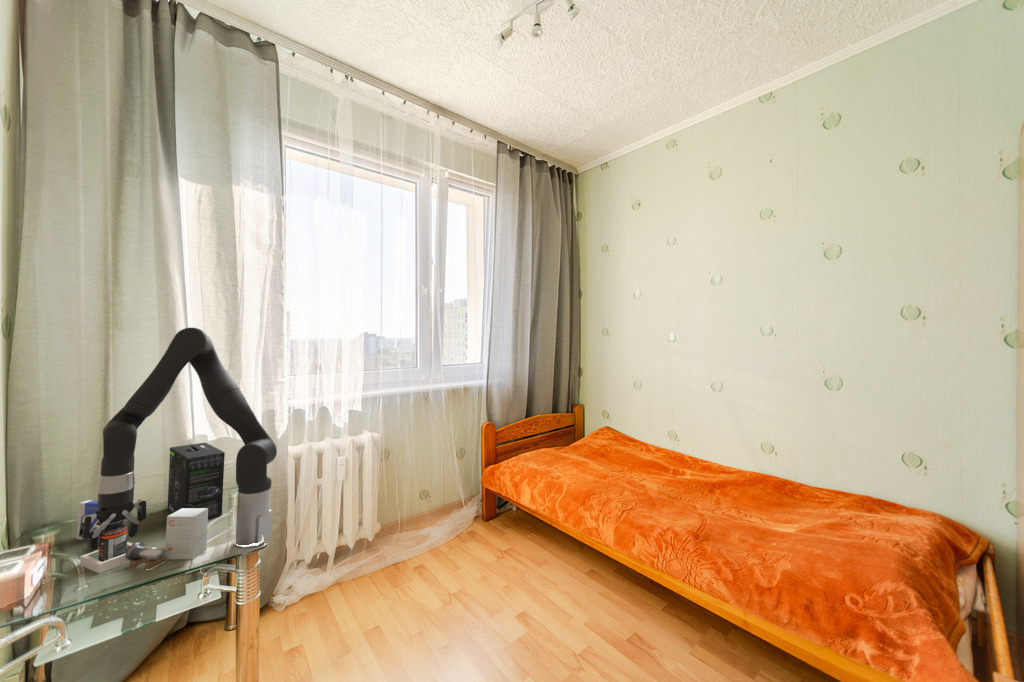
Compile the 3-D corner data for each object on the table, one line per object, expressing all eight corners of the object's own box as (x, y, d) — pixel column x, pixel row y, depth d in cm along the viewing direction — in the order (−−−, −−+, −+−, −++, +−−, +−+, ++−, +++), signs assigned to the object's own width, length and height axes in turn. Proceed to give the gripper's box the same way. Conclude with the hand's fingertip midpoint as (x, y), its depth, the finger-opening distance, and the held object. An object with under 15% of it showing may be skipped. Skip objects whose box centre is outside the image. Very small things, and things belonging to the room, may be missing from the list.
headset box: (165, 508, 152) (169, 441, 152) (203, 499, 161) (207, 436, 162) (182, 526, 138) (186, 453, 138) (223, 516, 148) (226, 447, 148)
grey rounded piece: (167, 562, 116) (168, 542, 117) (151, 570, 112) (152, 550, 112) (141, 558, 117) (142, 539, 118) (124, 567, 113) (125, 547, 113)
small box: (206, 549, 125) (209, 507, 125) (192, 559, 118) (195, 516, 118) (179, 549, 124) (181, 507, 124) (163, 560, 117) (166, 516, 118)
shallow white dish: (143, 556, 119) (143, 548, 119) (98, 573, 110) (99, 564, 110) (124, 548, 123) (125, 540, 123) (80, 564, 113) (80, 555, 113)
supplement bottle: (94, 560, 115) (95, 522, 115) (121, 551, 120) (123, 514, 120) (102, 566, 112) (104, 527, 112) (130, 556, 117) (131, 519, 117)
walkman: (110, 535, 130) (112, 499, 130) (102, 539, 127) (104, 502, 127) (85, 535, 130) (87, 498, 130) (76, 539, 127) (78, 502, 127)
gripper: (139, 478, 124) (136, 530, 124) (76, 493, 111) (73, 551, 111) (153, 482, 122) (150, 535, 121) (90, 498, 108) (87, 557, 108)
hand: (113, 543), depth 116 cm, fingers open, 8 cm apart
